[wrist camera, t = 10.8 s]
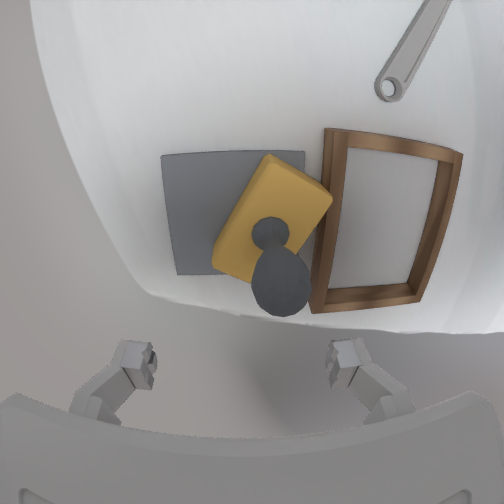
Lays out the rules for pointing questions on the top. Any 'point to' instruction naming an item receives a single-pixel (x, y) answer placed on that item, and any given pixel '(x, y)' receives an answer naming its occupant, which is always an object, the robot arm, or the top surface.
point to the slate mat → (208, 199)
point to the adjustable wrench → (412, 48)
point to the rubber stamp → (272, 235)
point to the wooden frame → (328, 225)
